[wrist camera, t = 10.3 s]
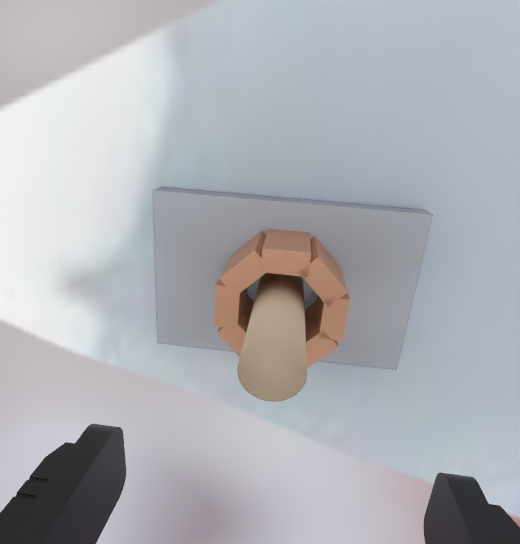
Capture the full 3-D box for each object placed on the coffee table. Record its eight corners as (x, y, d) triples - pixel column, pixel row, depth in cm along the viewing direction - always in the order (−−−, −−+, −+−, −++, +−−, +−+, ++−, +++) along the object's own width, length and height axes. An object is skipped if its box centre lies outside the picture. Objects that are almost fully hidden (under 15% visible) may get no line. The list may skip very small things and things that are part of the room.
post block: (424, 209, 20) (522, 271, 11) (391, 358, 23) (447, 494, 14) (160, 187, 21) (62, 227, 12) (163, 333, 24) (87, 447, 15)
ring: (347, 236, 19) (357, 257, 16) (330, 339, 22) (336, 376, 18) (230, 224, 20) (217, 243, 16) (225, 326, 22) (212, 361, 19)
